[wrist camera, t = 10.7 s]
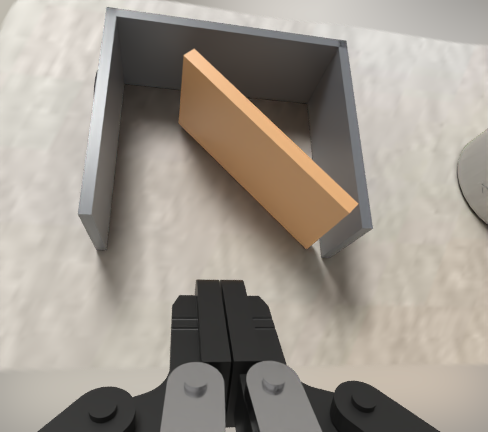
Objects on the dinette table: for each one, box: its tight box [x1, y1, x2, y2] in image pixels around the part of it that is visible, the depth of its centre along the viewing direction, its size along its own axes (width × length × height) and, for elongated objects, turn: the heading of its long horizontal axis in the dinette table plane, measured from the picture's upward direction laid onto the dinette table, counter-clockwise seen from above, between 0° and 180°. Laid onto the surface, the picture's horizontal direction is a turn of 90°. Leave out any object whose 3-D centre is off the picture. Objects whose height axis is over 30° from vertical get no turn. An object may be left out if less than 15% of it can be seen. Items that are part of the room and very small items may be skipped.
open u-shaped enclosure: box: [78, 7, 373, 258], centre depth 25 cm, size 13×15×6 cm
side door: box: [179, 49, 358, 249], centre depth 25 cm, size 1×12×7 cm, turn 46°
